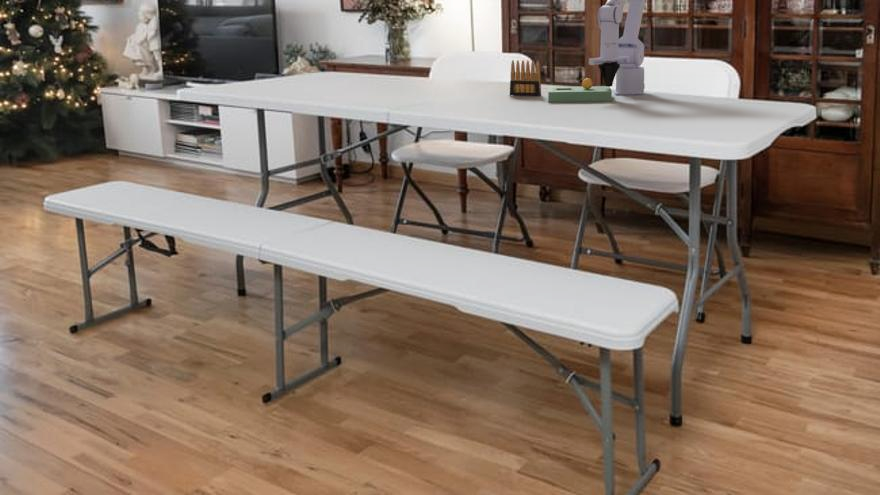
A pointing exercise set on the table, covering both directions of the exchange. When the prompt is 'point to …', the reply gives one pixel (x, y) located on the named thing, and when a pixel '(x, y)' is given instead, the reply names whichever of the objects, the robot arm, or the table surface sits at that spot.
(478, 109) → the table surface
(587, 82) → the ball
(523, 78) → the ammunition clip
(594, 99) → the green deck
